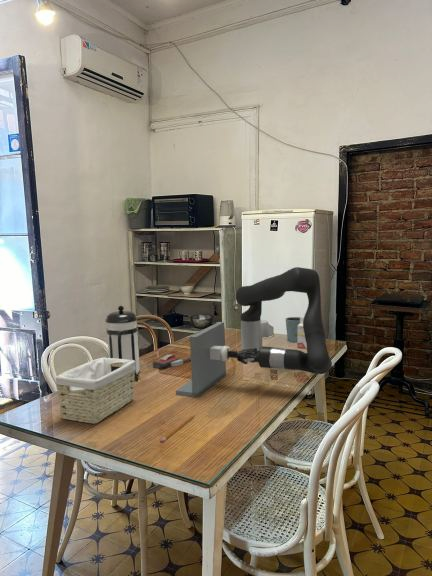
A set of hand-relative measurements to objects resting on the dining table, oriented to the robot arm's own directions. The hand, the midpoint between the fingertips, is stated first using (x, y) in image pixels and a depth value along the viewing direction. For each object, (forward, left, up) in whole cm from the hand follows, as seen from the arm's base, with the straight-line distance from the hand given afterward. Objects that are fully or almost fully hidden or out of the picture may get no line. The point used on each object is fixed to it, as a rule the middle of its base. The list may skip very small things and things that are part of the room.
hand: (228, 353), depth 159 cm
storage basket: (+47, +8, -13) cm, 49 cm away
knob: (+2, -2, -3) cm, 4 cm away
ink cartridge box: (-49, -42, -13) cm, 67 cm away
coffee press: (+39, -22, -13) cm, 46 cm away
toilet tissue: (-36, -72, -13) cm, 82 cm away
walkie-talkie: (+18, -37, -14) cm, 43 cm away
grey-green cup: (-49, -57, -13) cm, 77 cm away
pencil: (+23, +30, -13) cm, 39 cm away
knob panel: (+8, -5, -13) cm, 16 cm away
